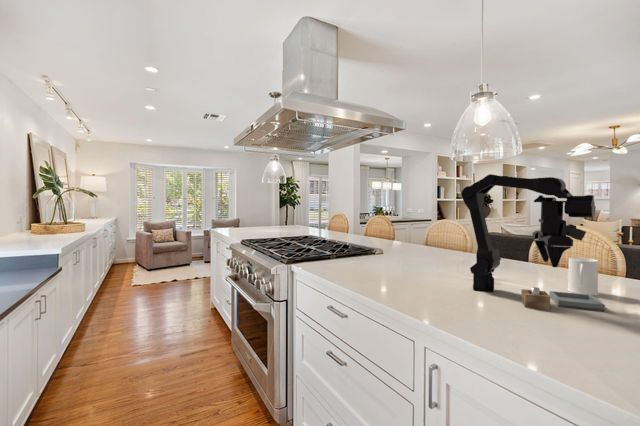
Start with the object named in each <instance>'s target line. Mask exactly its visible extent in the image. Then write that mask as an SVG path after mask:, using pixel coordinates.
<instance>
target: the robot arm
mask: <svg viewBox="0 0 640 426" xmlns="http://www.w3.org/2000/svg"><path fill="white" fill-rule="evenodd" d="M565 182H566V181H564V180H563V179H561V178H559V177H554V176H553V177H552V176H549V177H534V178H527V177H526V178H525V177H517V176H516V177H515V176H506V175H497V174H491V173H490V174H488V175H486V176H485V177H483V178H482V179H480V180H478V181H476V182H474V183H472V184H471V185H468V186H465V187H464V188H463V189H462V190H461V193H460V194H461V195H460V196H461V198H462V201H463V202H464V205H465V207H467V209H468V211H469V213H470V218H471V224H472V227H473V231H474V232H473V233H474V236H475V241H476V245H477V250H476V255H475V256H476V257H475V258H476V263H475V264H472V266H470V267H469V271H470V273H471V274H472V290H474V291H478V292H479V291H481V292H489V293H490V292H491V293H493V292H494V290H495V278H494V276H493V273H494V272H495V269H497V268H499V266H500V264H501V260H502V258H501V255H500V250H499V248H497V249H495V248H494V247H493V244H492V242H491V238H490V232H489V229H488V224H487V220H486V217H485V213H484V212H485V211H484V203H485V195H486V194H487V193H488V192H489V191H491V190H492V189H493V188H494V187H495V186H499V187H506V188H507V187H508V188H515V189H524V190H529V191H532V192H535V193H539V194H540V195H538V197H537V198H535V199H534V200H533V203H540V205H541V206H540V218H538V222H539V223H540V228H539V230H535V231H534V232H532V237H531V239H533V242H534V243H535V246H536V248H537V250H538V252H539V254H540V257H541V258H542V261H543V262H545V263H548V262H549V261H550V264H551V267H552V268H558V266H559V263H560V261H561V258H562V256H563V254H564V252H565V251H567V250H569V249H571V248H572V247H574V239H575V240H577V241H582V242H583V239H584V238H585V235H586V233H587V231H585V230H582V229H579V228H578V227H577V225H574V224H571V223H568V224H567V220H565V219H564V214H565V215H568V217H569V218H583V219H584V218H589V219H594V217H595V216H596V208H597V207H596V205H595V202H596V201H595V199H594V198H595V195H592V194H590V195H588V194H587V195H573V194H572V193H570V191H569V190H568V189H567V188H566V187H567V186H566V183H565ZM541 194H542V195H541ZM543 195H545V196H549V197H545V196H543ZM553 196H554V197H553ZM556 198H557V199H566V200H557V199H556Z"/></svg>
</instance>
